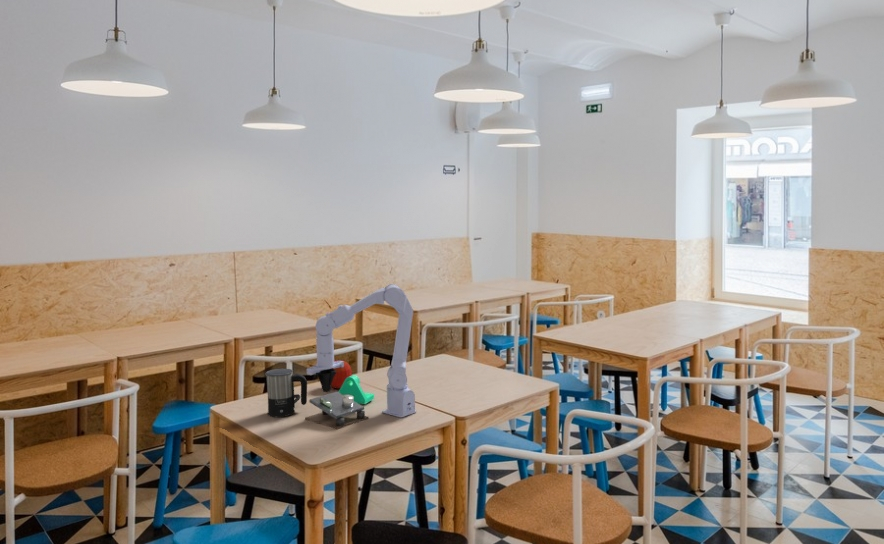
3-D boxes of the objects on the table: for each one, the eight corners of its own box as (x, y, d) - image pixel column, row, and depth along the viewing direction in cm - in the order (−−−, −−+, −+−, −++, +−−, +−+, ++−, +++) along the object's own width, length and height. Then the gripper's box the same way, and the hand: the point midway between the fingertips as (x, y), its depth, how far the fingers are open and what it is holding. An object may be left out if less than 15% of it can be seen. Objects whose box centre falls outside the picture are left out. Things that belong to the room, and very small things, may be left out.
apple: (325, 385, 266) (324, 356, 264) (350, 383, 268) (350, 355, 267) (326, 391, 256) (326, 362, 255) (353, 390, 258) (352, 360, 257)
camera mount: (375, 400, 244) (374, 373, 243) (365, 406, 237) (364, 378, 236) (346, 397, 249) (346, 370, 248) (336, 403, 242) (335, 375, 241)
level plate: (363, 409, 223) (365, 398, 222) (336, 418, 214) (337, 407, 213) (336, 394, 232) (338, 383, 231) (309, 402, 223) (310, 391, 222)
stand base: (369, 418, 223) (368, 410, 223) (337, 429, 213) (336, 421, 212) (337, 409, 234) (336, 401, 234) (305, 419, 223) (304, 411, 223)
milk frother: (272, 419, 224) (270, 376, 222) (257, 407, 237) (255, 367, 235) (312, 412, 231) (310, 370, 230) (295, 401, 245) (294, 361, 243)
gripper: (334, 346, 232) (335, 384, 234) (300, 354, 221) (301, 394, 223) (347, 349, 228) (348, 388, 229) (313, 357, 217) (315, 397, 218)
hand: (326, 391), depth 226 cm, fingers closed
